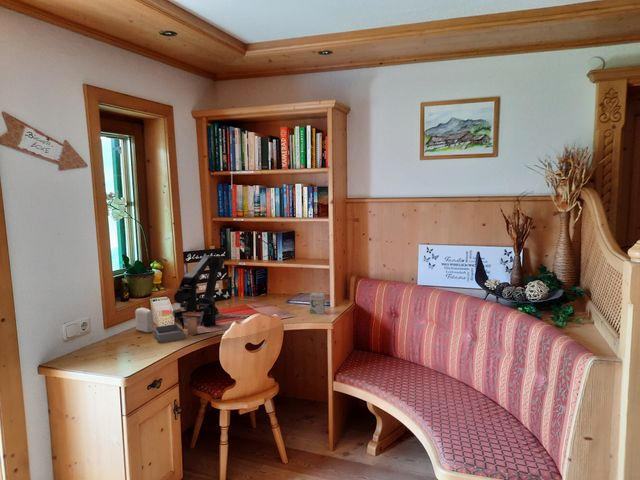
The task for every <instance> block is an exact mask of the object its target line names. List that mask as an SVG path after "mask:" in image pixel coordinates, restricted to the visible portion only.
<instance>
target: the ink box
mask: <svg viewBox="0 0 640 480" xmlns="http://www.w3.org/2000/svg"><path fill="white" fill-rule="evenodd" d="M309 313H310V314H311V315H312V314H315V315H324V314H325V313H326V294H325V293H320V292H311V293H309Z"/></svg>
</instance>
